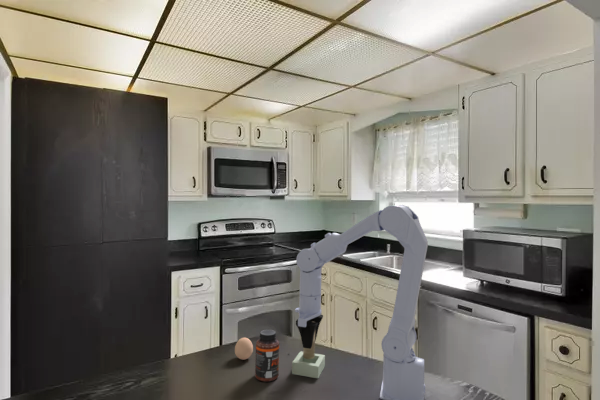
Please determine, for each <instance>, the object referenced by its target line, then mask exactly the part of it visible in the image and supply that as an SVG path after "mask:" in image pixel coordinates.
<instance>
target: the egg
mask: <svg viewBox="0 0 600 400" xmlns="http://www.w3.org/2000/svg"><path fill="white" fill-rule="evenodd" d="M234 353H235V356H236V357H237V359H239V360H242V361H243V360H244V361H245V360H248V359H249V358H250V357H251V356H252V355H253V353H254V345H253V343H252V341H251V340H250V339H249V338H248V337H241V338H239V340H237V342H236V344H235V346H234Z"/></svg>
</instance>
